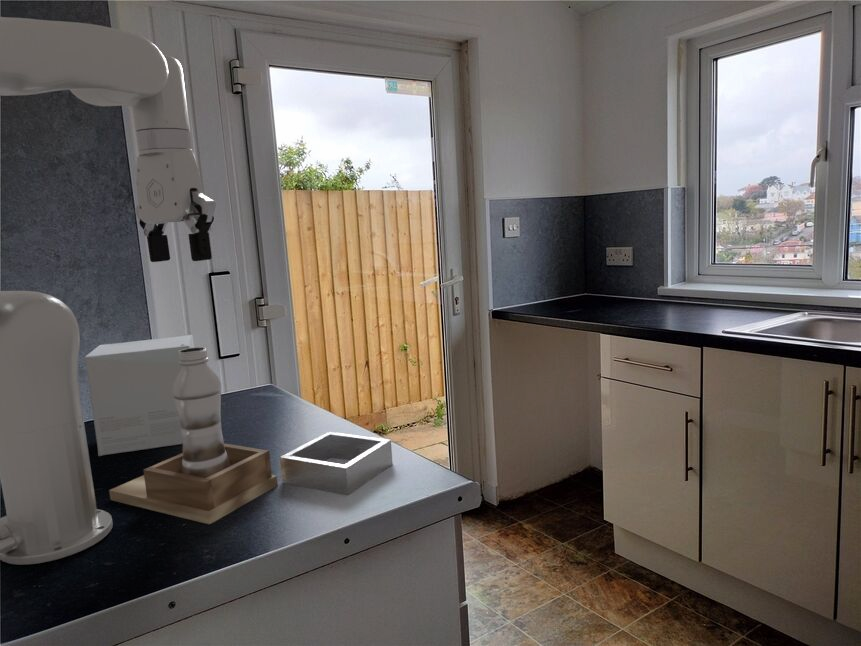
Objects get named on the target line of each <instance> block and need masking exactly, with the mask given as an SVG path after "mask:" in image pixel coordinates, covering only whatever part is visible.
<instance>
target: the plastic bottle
mask: <svg viewBox="0 0 861 646" xmlns="http://www.w3.org/2000/svg"><path fill="white" fill-rule="evenodd" d="M207 351H208V350H207V348H206V347H204V346H203V347H202V346H201V347H200V346H199V347H197V346H196V347H195V346H194V348H188V349H183V350H180V351H179V360H180V361H179V365H182V369H181V371H180V372H179V374H178V376H177V378H176V380H175V382H174V385H173V390H172V391H173V396H174V400H175V404H176V407H177V411H178V415H179V420H180V426H181V431H182V442H183V444H182V453H183V459H182V474H187V475H192V476H197V477H202V478H207V477H209V476H211V475H213V474H215V473H218V472H220V471H222V470H224V469H226V468H228V467H230V463H229V459H228V455H227V452H226V450H225V445H224V443H225V440H224V436H223V430H222V422H221V420H222V418H221V417H222V416H221V413H222V412H221V406H222V405H221V402H222V401H221V399H222V383H221V380H220V377H219V376H218V375H217V373H215V371H214V370H213V369H212V368H211V367H210V366H209V365H208V363H207V362H209V357H208V352H207Z"/></svg>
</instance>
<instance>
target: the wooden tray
mask: <svg viewBox="0 0 861 646" xmlns="http://www.w3.org/2000/svg"><path fill="white" fill-rule="evenodd" d="M224 445H225V450H226V452H227V455H228V459H229V463H230V467H228V468H226V469H224V470H222V471H220V472H218V473H215V474H213V475H211V476H209V477H207V478H202V477H197V476H192V475H187V474H182V459H183V452H181V453H179V454H176V455H175V456H172V457H169V458H167V459H165V460H162V461H161V462H158V463H156V464H154V465H152V466H149V467H146V468H144V469H143V475H141V476H139V477H136V478H134V479H131V480H130V481H127V482H125V483H123V484H120V485H117V486H116V487H113V488H111V489H109V490H108V491H109V497H110V498H109V500H110V501H112V502H113V501H114V502H117V503H122V504H125V505H129V506H133V507H138V508H142V509H147V510H149V511H154V512H158V513H160V514H161V513H162V514H166V515H171V516H174V517H178V518H181V519H187V520H190V521H194V522H198V523H203V524H206V525H211V524H213V523H215V522H216V521H219V520H220V519H222V518H223V517H226V516H227V515H229V514H231V513H232V512H234V511H236V510H237V509H239V508H241V507H243V506H244V505H246V504H247V503H250V502H252V501H253V500H255V499H256V498H258V497H260V496H262V495H264V494H265V493H267V492H269V491H271V490H272V489H274V488H276V487H277V486H278V475H276V474H275V475H274V474H272V466H271V456H270V450H267V449H261V448H257V447H249V446H242V445H237V444H230V443H225V442H224Z"/></svg>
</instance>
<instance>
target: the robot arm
mask: <svg viewBox="0 0 861 646" xmlns="http://www.w3.org/2000/svg"><path fill="white" fill-rule="evenodd" d="M185 85H186V84H185V80H184V72H183V67H182V64H181V62H180V61H179V60H178V59H176V58H175V57H174V56H171V55H168V54H163V53H162V51H161V50H160V49H159V47H158V46H156V44H154V42H152V41H150V40H149V39H148V38H146V37H144V36H142V35H140V34H137V33H135V32H130V31H126V30H121V29H118V28H113V27H109V26H103V25H99V24H93V23H86V22H85V23H84V22H77V21H76V22H75V21H61V20H49V19H38V18H37V19H36V18H27V17H26V18H24V17H10V16H9V17H8V16H6V17H4V16H0V96H1V97H2V96H3V97H4V96H7V97H8V96H9V97H10V96H11V97H12V96H31V95H38V94H39V95H40V94H44V93H51V92H59V91H70V92H71V93H72V94H73V95H74V96H75V97H76V98H77V99H79V100H81V101H82V102H84V103H86V104H89V105H91V106H92V105H93V106H98V107H114V106H115V107H118V106H119V107H120V106H121V107H122V106H125V107H126V106H128V107H130V108H131V110H132V117H133V125H134V130H135V132H134V133H135V138H136V145H137V150H138V151H137V152H138V156H137V157H136V171H135V174H136V175H135V176H136V179H135V180H136V194H137V195H136V196H137V205H136V207H135V208H134V213H135V214H136V217H137V219H138V221H139V222H138V224H139V226H140V227H141V229H142V230H143V235H144V236H145V237H146V240H147V248H148V254H149V260H150V262H151V263H157V262H166V261H170V259H171V253H170V245H169V240H168V235H167V234H165V230H166V228H167V226H168V223H178V222H184V223H185V225H186V227H187V228H188V229H189V231H190V232H191V233H189V234H188V241H189V242H188V243H189V249H190V256H191V261H192V262H199V261H200V262H202V261H209V260H212V258H213V257H212V249H211V248H212V247H211V240H210V233H211V232H212V224H213V222H214V220H215V216H214V215H215V210H216V205H217V203H216V201H215V200H213V199H212V198H210V197H208V196H207V195H206V194H204V189H203V181H202V178H201V174H200V169H199V166H198V163H197V162H198V161H197V159H196V156H195V153H194V150H193V142H192V133H191V127H190V118H189V111H188V103H187V94H186V88H185V87H186V86H185ZM80 338H81V337H80V328H79V323H78V321H77V318H76V316H75V314H74V312H73V311H72V309H71V308H70V307H69V306H68V305H67V304H66V303H64V302H63V301H62V300H61V299H59V298H57V297H55V296H53V295H51V294H48V293H44V292H39V291H35V290H34V291H32V290H0V485H1V490H2V497H3V501H4V508H5V513H6V515H4V516H2V517H0V561H2V562H4V563H7V564H10V565H18V566H19V565H20V566H22V565H25V566H26V565H36V564H43V563H47V562H49V563H50V562H52V561H56V560H60V559H63V558H64V559H65V558H66V557H70V556H73V555H74V554H78V553H79V552H82V551H84V550H85V551H86V550H87V549H88V548H90V547H92V546H94V545H95V544H97V543H99V542H100V541H102V540H103V539H104V538H105V537H107V535H109V533H110V532H111V531H112V528H113V527H114V526H113V525H114V524H113V523H114V522H113V518H112V514H110V513H109V512H107V511H106V510H103V509H98V508H97V501H96V496H95V495H96V494H95V488H94V481H93V475H92V468H91V461H90V453H89V447H88V441H87V434H86V427H85V421H84V414H83V408H82V407H83V405H82V401H81V391H80V383H79V382H80V380H79V358H80V357H79V355H80V341H81V339H80Z"/></svg>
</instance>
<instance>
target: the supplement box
mask: <svg viewBox="0 0 861 646" xmlns="http://www.w3.org/2000/svg"><path fill="white" fill-rule="evenodd" d="M193 337H194V336H193V334H187V335H181V336H180V335H179V336H172V337H164V338H163V337H162V338H154V339H153V338H152V339H146V340H145V339H144V340H143V339H142V340H136V341H134V340H133V341H126V342H119V343H118V342H117V343H108V344H107V343H105V344H100V345H98V346H97V347H96V348H94V349H93V350H92V351H90V352H89V353H88V354H87V355H85V356H84V363H85V369H86V376H87V381H88V382H87V383H88V389H89V396H90V404H91V409H92V417H93V422H94V423H93V424H94V425H93V426H94V430H95V440H96V445H97V446H96V447H97V454H98V455H97V456H98V457H101V456H106V455H114V454H120V453H127V452H135V451H140V450H149V449H156V448H162V447H169V446H177V445H183V442H182V431H181V426H180V420H179V415H178V411H177V407H176V404H175V400H174V396H173V391H172V390H173V385H174V382H175V380H176V378H177V376H178V374H179V372H180V371H181V369H182V365H179V361H180V360H179V351H180V350H183V349H188V348H195V343H194V338H193Z"/></svg>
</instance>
